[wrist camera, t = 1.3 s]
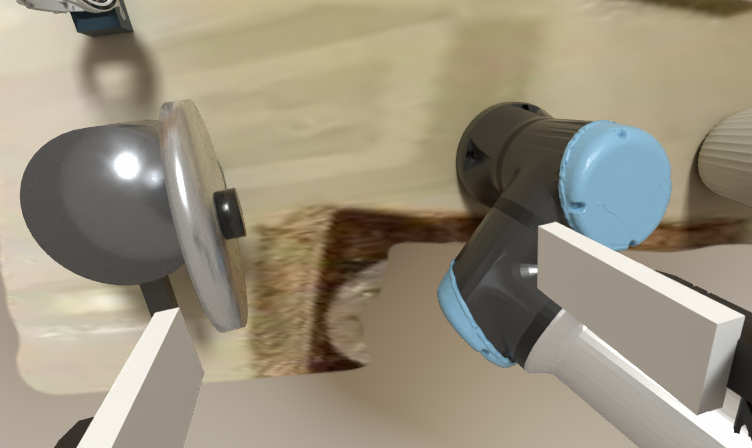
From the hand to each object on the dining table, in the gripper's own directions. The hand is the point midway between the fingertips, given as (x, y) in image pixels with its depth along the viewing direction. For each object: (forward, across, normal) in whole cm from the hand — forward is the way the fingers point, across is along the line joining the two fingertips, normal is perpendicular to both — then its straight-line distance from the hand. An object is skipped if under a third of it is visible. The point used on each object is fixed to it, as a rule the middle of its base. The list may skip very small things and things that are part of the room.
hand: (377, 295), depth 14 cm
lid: (+19, +10, +1) cm, 22 cm away
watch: (+41, +19, -18) cm, 49 cm away
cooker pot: (+40, +19, +5) cm, 45 cm away
